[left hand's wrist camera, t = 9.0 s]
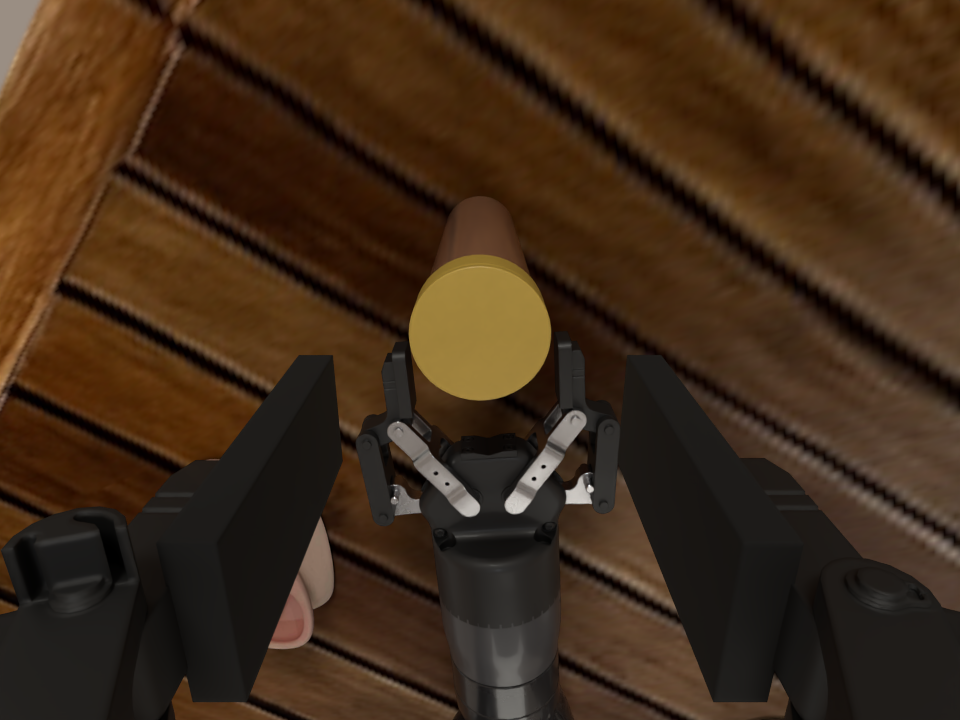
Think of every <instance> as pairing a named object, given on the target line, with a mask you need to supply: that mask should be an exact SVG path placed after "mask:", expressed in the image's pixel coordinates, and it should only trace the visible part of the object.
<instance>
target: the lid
mask: <svg viewBox="0 0 960 720" xmlns="http://www.w3.org/2000/svg"><path fill="white" fill-rule="evenodd" d="M550 341H551V325H550V319H549V315H548V312H547V309H546V306H545V303H544V300H543V297H542V295H541V293H540V290H539V289H538V287H537V285H536V284H535V282H534V281H533V280H532V278H531V277H530V276H529V275H528V274H527V273H526V272H525V271H524V270H523V269H521V268H520V267H518V266H517V265H516V264H514V263H512V262H510V261H508V260H505V259H503V258H500V257H496V256H491V255H469V256H464V257H460V258H457V259H454V260H452V261H450V262H448V263H446V264H445V265H443V266H441V267H440V268H439V269H437V270H436V271H435V272H434V273H433V274H432V275H431V276H430V277H429V278H428V279H427V281H426V282H425V284H424V285H423V287H422V289H421V291H420V293H419V295H418V298H417V301H416V304H415V306H414V309H413V312H412V315H411V319H410V324H409V342H410V347H411V351H412V354H413V357H414V359H415V361H416V363H417V365H418V367H419V368H420V370H421V371H422V373H423V374H424V375H425V376H426V377H427V378H428V379H429V381H431V382H432V383H433V384H434V385H435V386H437V387H438V388H440V389H441V390H443V391H445V392H447V393H449V394H451V395H453V396H456V397H459V398H463V399H468V400H491V399H497V398H500V397H504V396H507V395H509V394H511V393H513V392H515V391H517V390H519V389H520V388H522V387H523V386H525V385H526V384H527V383H528V382H529V381H530V380H531V379H532V378H534V376H535V375H536V374H537V373H538V371H539V370H540V368H541V367H542V365H543V363H544V361H545V359H546V357H547V354H548V351H549V347H550Z"/></svg>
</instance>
